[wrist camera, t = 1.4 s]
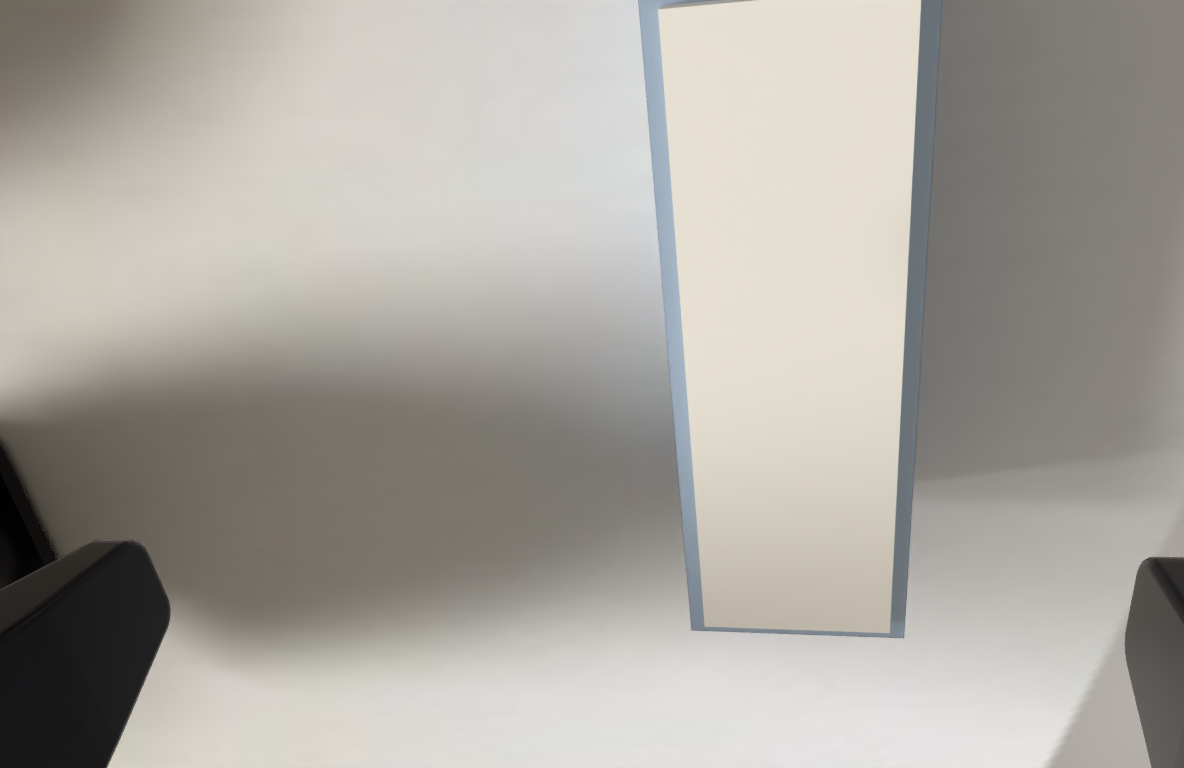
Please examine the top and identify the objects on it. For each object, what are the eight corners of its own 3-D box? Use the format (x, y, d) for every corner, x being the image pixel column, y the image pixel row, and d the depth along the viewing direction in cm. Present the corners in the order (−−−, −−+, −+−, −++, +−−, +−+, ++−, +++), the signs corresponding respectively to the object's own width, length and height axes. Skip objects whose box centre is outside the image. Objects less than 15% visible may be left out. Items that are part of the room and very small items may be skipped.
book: (881, 482, 23) (906, 650, 18) (708, 481, 23) (690, 641, 19) (904, -89, 17) (949, -53, 12) (672, -64, 17) (633, -21, 13)
